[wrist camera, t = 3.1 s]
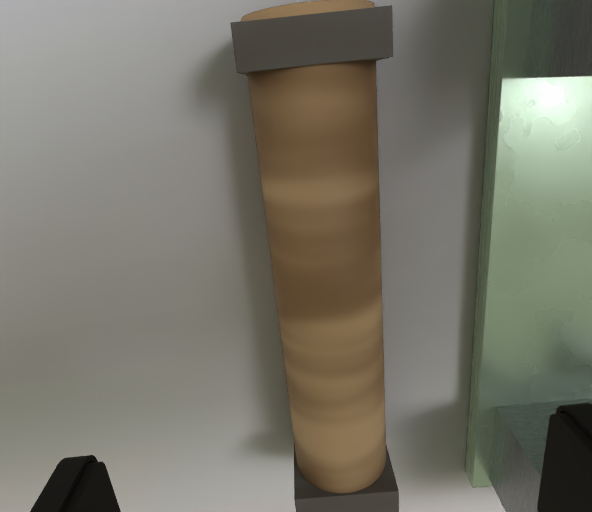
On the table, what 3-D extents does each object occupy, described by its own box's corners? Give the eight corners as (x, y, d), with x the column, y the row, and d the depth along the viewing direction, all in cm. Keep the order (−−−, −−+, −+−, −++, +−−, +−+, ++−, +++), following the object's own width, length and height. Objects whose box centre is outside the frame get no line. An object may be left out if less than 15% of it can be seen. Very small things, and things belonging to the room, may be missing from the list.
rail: (244, 28, 15) (228, 9, 11) (365, 16, 15) (392, -8, 11) (296, 447, 22) (298, 525, 18) (379, 440, 22) (398, 517, 18)
